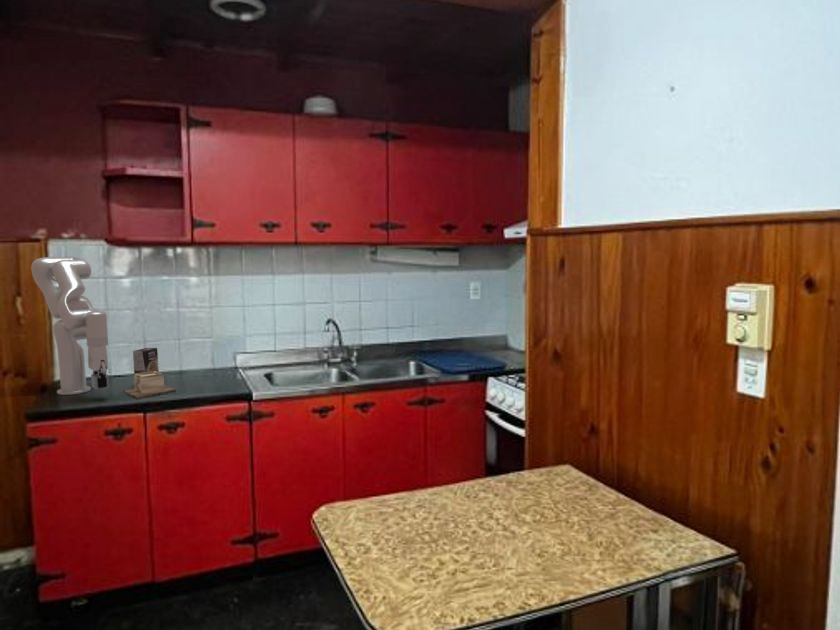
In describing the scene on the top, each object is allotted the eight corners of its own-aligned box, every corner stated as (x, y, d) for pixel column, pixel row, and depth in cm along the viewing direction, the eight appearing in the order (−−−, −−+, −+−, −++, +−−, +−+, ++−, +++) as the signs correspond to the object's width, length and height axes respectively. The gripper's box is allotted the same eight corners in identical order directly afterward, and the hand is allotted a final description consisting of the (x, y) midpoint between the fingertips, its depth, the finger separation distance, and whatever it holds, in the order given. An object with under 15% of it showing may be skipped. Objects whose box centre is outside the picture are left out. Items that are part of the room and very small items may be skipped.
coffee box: (147, 387, 266) (144, 351, 264) (134, 386, 268) (131, 350, 266) (160, 382, 275) (157, 347, 273) (147, 382, 276) (145, 347, 275)
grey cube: (91, 386, 245) (90, 374, 245) (104, 384, 249) (104, 372, 248) (95, 389, 242) (94, 376, 241) (108, 387, 245) (108, 374, 245)
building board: (123, 392, 257) (121, 374, 256) (161, 386, 268) (160, 368, 267) (136, 399, 245) (135, 379, 244) (176, 391, 256) (174, 373, 255)
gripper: (80, 340, 246) (83, 383, 249) (94, 346, 234) (96, 391, 237) (100, 338, 251) (103, 380, 254) (114, 343, 239) (117, 388, 242)
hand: (100, 385), depth 245 cm, fingers closed on grey cube, 5 cm apart
